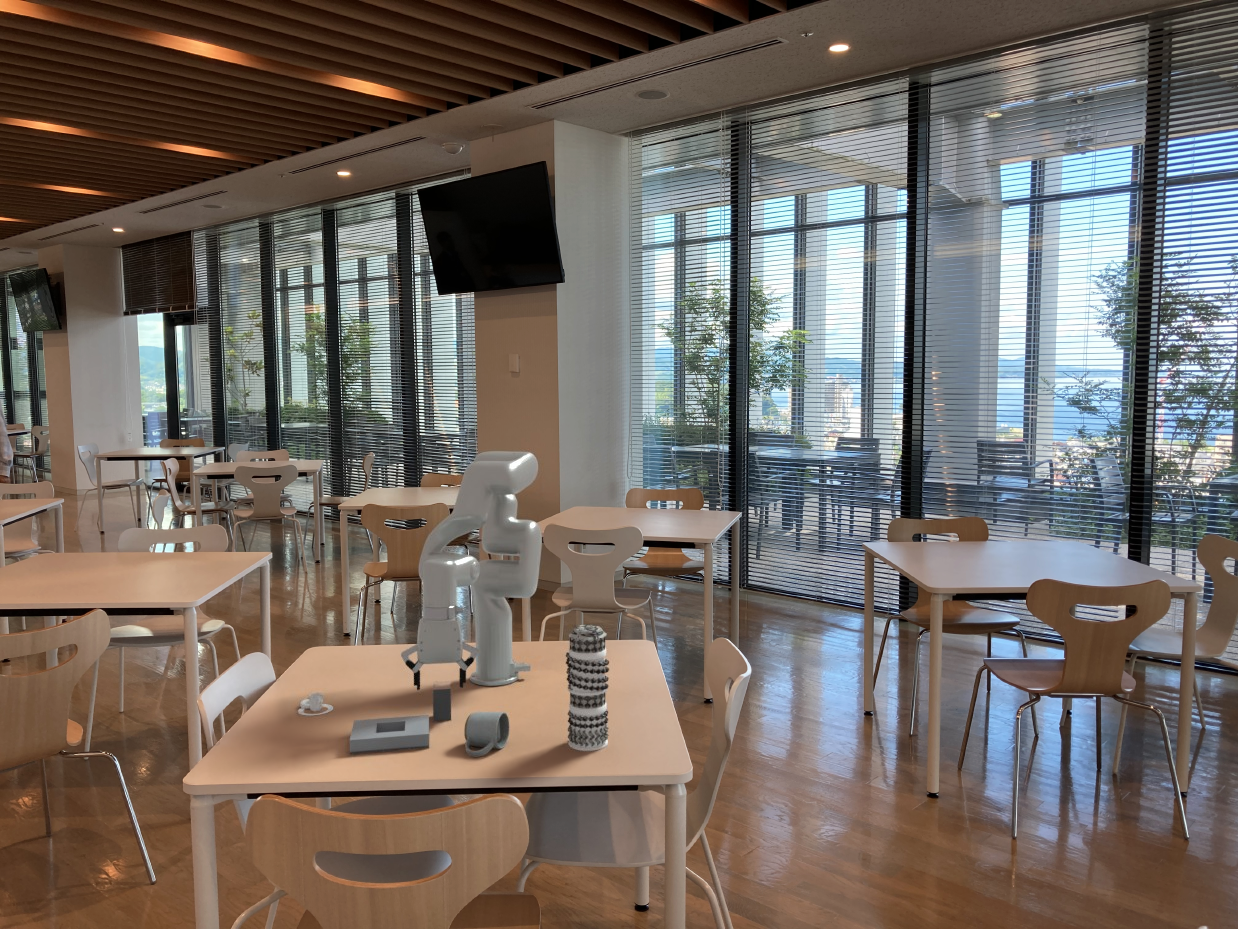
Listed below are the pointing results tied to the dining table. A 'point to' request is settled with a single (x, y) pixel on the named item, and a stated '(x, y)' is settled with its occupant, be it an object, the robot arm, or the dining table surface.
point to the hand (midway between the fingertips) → (440, 687)
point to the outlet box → (389, 734)
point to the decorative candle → (587, 688)
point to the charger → (441, 701)
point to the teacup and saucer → (314, 704)
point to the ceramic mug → (486, 731)
